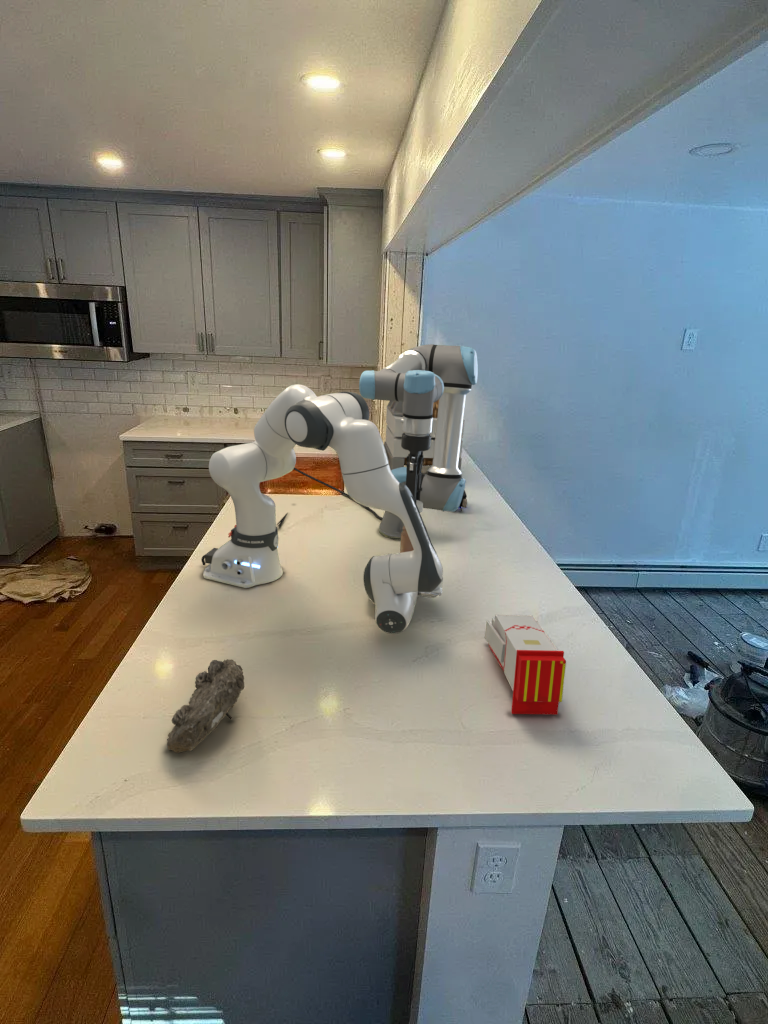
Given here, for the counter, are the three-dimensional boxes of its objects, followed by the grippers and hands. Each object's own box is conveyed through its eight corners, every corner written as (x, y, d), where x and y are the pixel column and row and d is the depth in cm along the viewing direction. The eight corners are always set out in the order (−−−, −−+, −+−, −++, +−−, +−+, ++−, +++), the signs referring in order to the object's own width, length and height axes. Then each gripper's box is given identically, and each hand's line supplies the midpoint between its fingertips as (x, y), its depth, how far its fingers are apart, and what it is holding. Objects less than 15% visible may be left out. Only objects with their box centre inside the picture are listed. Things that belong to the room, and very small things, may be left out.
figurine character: (467, 516, 223) (461, 500, 237) (469, 499, 220) (463, 483, 233) (450, 516, 223) (446, 499, 236) (452, 498, 220) (447, 483, 233)
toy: (530, 600, 137) (574, 657, 108) (525, 651, 140) (567, 720, 111) (480, 599, 137) (511, 656, 107) (477, 651, 139) (506, 719, 110)
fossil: (192, 660, 117) (244, 628, 112) (224, 691, 120) (276, 661, 115) (142, 746, 98) (202, 712, 93) (182, 779, 101) (242, 748, 96)
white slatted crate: (382, 463, 289) (386, 382, 275) (445, 464, 293) (451, 384, 279) (390, 482, 257) (394, 392, 243) (460, 483, 261) (468, 394, 247)
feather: (294, 507, 225) (297, 503, 224) (277, 531, 198) (280, 526, 197) (290, 504, 224) (293, 500, 224) (273, 528, 198) (276, 524, 197)
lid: (416, 515, 148) (417, 508, 147) (397, 510, 150) (397, 503, 150) (426, 509, 152) (426, 502, 152) (407, 505, 155) (407, 498, 154)
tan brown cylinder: (403, 586, 163) (407, 523, 156) (418, 591, 160) (423, 527, 153) (394, 592, 158) (397, 528, 152) (409, 597, 156) (414, 532, 149)
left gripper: (442, 585, 142) (446, 562, 155) (362, 576, 145) (373, 554, 158) (440, 607, 144) (444, 583, 157) (362, 597, 148) (372, 574, 160)
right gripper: (407, 425, 153) (403, 505, 161) (395, 440, 136) (391, 529, 144) (435, 427, 152) (429, 508, 160) (427, 442, 135) (421, 532, 143)
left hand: (408, 568), depth 158 cm, fingers closed on tan brown cylinder, 5 cm apart
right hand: (411, 518), depth 152 cm, fingers closed on lid, 6 cm apart
